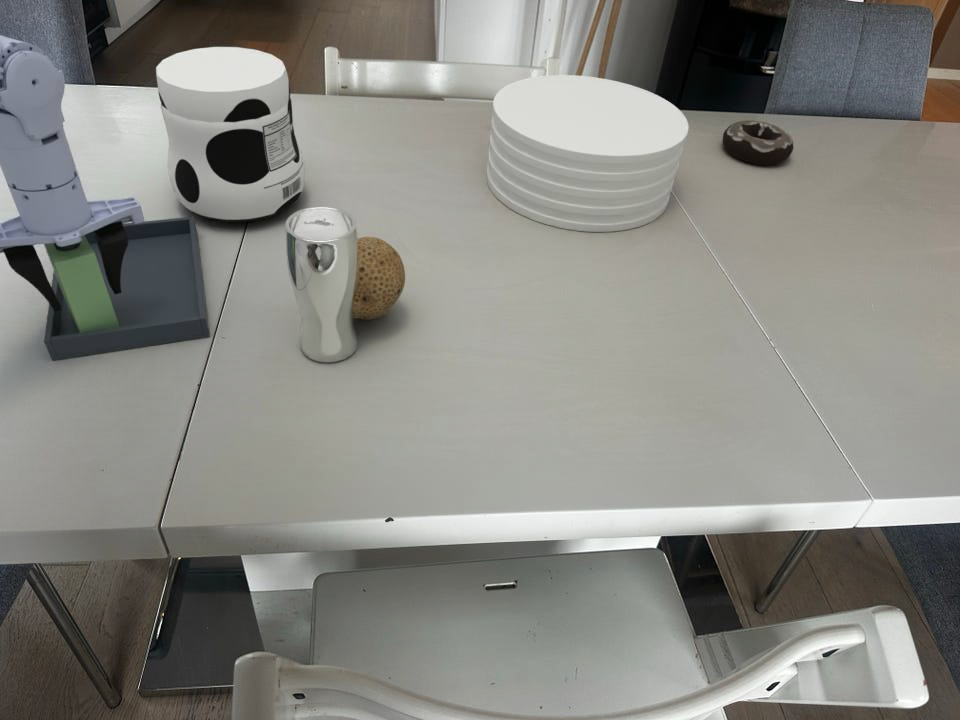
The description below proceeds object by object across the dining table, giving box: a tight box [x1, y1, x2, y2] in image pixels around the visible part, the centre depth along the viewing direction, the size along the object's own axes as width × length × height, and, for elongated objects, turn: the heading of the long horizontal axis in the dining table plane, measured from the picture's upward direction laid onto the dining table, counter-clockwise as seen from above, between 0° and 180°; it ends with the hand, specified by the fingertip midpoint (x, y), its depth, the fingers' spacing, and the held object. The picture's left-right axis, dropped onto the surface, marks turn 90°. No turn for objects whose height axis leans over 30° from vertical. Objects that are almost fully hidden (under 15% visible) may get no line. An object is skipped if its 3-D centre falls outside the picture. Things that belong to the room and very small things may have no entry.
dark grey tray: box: [43, 216, 211, 361], centre depth 81 cm, size 15×21×3 cm
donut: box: [722, 119, 794, 166], centre depth 121 cm, size 12×12×4 cm
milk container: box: [155, 46, 306, 223], centre depth 92 cm, size 17×17×18 cm
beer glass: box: [284, 206, 359, 364], centre depth 72 cm, size 7×7×15 cm
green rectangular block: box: [43, 235, 119, 333], centre depth 72 cm, size 4×5×12 cm
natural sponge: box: [353, 236, 406, 321], centre depth 78 cm, size 9×9×10 cm
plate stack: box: [486, 74, 690, 233], centre depth 105 cm, size 28×28×12 cm
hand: (86, 297), depth 73 cm, fingers open, 5 cm apart
